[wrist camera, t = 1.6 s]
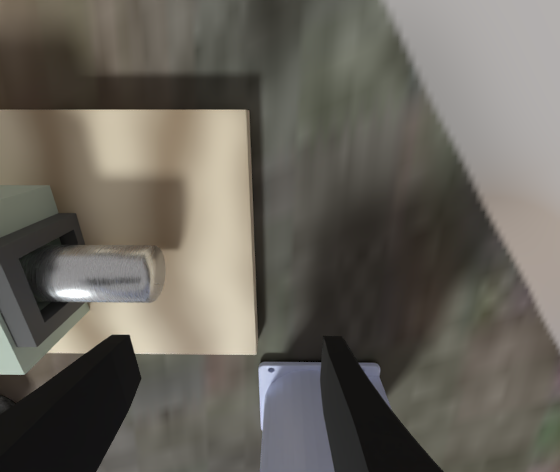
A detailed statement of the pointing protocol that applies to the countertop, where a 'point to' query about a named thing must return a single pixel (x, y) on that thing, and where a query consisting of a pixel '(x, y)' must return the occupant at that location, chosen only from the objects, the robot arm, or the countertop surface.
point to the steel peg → (95, 273)
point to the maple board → (152, 216)
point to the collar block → (13, 283)
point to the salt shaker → (5, 404)
